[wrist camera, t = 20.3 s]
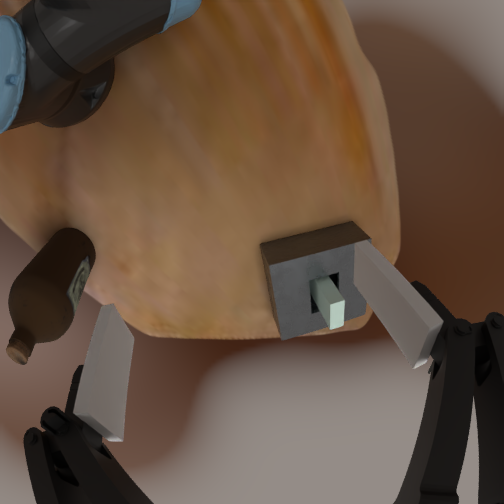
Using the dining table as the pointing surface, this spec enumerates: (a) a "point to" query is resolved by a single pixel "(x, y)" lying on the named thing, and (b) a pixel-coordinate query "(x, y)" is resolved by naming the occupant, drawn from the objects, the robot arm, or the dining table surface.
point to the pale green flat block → (328, 301)
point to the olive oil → (49, 292)
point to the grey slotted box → (311, 276)
